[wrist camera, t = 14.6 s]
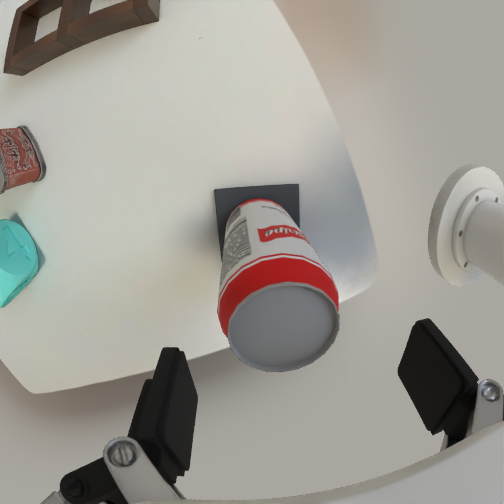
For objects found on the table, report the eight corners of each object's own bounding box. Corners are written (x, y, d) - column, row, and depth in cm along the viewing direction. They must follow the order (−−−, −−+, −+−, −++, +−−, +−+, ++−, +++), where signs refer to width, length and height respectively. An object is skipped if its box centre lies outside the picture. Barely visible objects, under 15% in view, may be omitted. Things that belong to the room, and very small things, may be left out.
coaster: (297, 183, 25) (298, 184, 25) (298, 259, 28) (299, 261, 28) (214, 189, 25) (214, 189, 25) (222, 266, 28) (222, 267, 28)
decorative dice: (16, 211, 24) (-25, 231, 17) (47, 259, 27) (10, 289, 19) (-3, 245, 25) (-37, 267, 18) (25, 287, 28) (-5, 317, 21)
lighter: (12, 138, 20) (-44, 148, 11) (26, 119, 20) (-33, 123, 11) (35, 187, 23) (-22, 209, 14) (50, 168, 23) (-10, 186, 13)
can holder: (163, -39, 14) (155, -56, 10) (159, 20, 18) (148, 5, 14) (32, 15, 14) (16, 8, 10) (22, 76, 17) (2, 73, 14)
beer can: (251, 182, 25) (272, 240, 10) (302, 220, 26) (376, 313, 12) (213, 235, 26) (188, 347, 12) (265, 268, 28) (291, 392, 13)
